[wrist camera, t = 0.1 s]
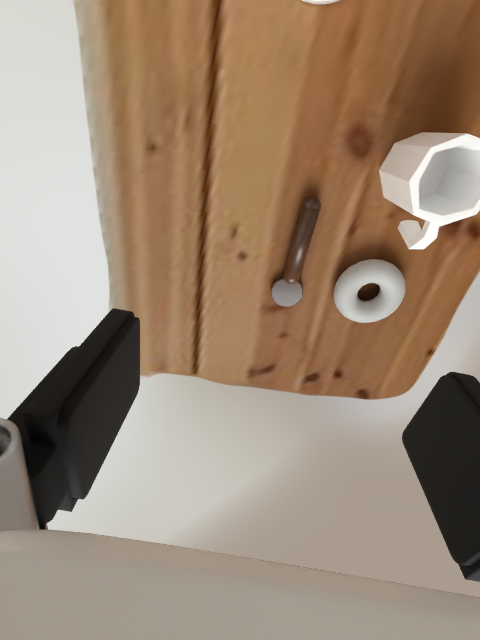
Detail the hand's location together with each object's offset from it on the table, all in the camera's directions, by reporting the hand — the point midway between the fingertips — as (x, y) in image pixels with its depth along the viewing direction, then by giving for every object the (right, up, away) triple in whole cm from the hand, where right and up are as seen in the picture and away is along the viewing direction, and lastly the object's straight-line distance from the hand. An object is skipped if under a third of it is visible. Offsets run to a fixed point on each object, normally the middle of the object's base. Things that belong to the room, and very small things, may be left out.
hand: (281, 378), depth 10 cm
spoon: (+7, +11, +36) cm, 38 cm away
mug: (+20, +19, +30) cm, 41 cm away
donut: (+18, +7, +38) cm, 42 cm away
